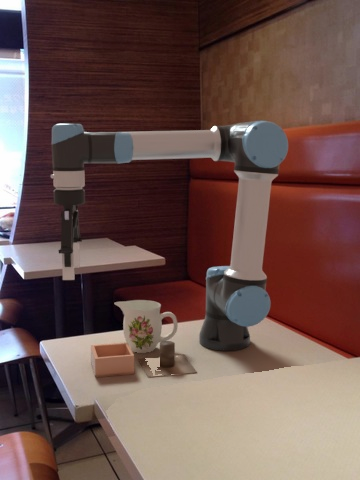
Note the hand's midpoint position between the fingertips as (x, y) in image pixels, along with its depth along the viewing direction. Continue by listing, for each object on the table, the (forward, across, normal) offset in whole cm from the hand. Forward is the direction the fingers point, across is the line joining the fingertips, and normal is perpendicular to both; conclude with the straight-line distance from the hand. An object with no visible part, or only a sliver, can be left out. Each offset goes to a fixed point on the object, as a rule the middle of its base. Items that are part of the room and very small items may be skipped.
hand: (71, 273), depth 148 cm
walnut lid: (+27, -4, +24) cm, 36 cm away
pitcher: (+27, -17, +18) cm, 37 cm away
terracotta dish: (+26, -3, +9) cm, 28 cm away
